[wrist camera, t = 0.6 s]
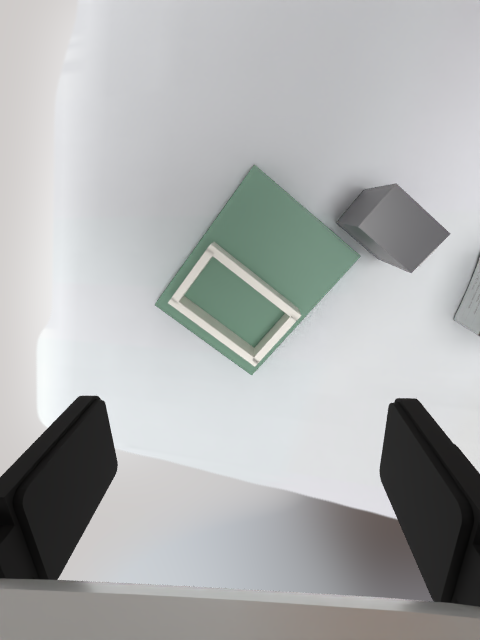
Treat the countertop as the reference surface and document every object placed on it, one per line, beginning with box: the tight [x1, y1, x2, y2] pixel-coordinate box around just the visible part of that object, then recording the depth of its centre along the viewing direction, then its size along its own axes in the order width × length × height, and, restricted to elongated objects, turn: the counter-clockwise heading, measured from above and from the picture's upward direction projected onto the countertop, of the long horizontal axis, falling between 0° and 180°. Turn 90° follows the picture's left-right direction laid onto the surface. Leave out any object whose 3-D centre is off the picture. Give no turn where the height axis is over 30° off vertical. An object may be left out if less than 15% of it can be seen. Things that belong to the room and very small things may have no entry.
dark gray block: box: [336, 184, 450, 273], centre depth 29 cm, size 4×7×8 cm, turn 52°
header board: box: [155, 165, 361, 375], centre depth 34 cm, size 18×14×4 cm
